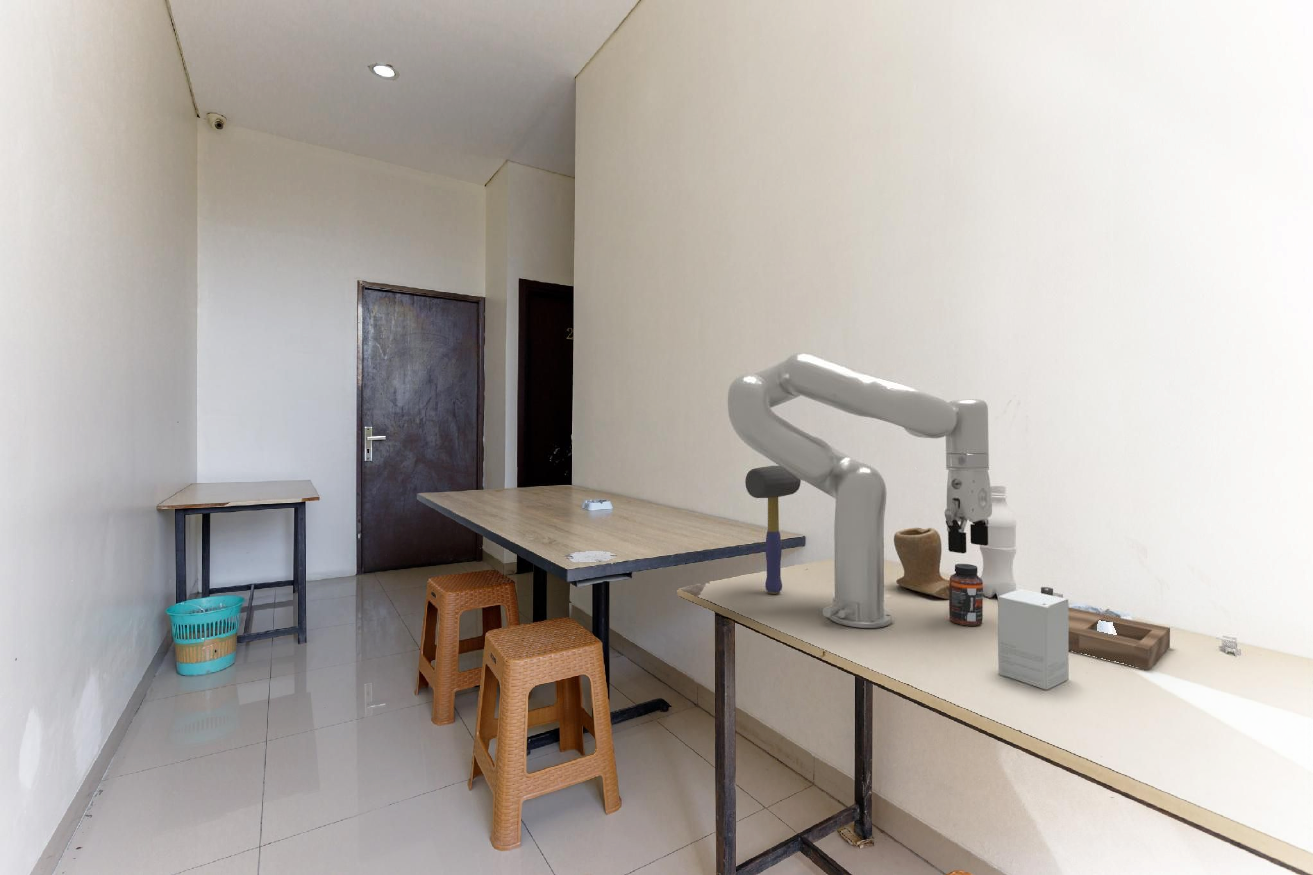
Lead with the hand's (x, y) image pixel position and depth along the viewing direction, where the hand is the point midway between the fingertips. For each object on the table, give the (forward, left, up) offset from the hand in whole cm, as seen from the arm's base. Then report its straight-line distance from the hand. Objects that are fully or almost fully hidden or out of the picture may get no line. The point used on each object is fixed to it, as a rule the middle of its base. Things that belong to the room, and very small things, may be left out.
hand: (968, 548), depth 119 cm
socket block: (+5, -18, -15) cm, 24 cm away
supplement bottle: (0, 0, -15) cm, 15 cm away
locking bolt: (+10, -11, -11) cm, 18 cm away
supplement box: (-18, -18, -15) cm, 29 cm away
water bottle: (+23, +3, -15) cm, 27 cm away
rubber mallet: (-13, +38, -15) cm, 43 cm away
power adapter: (+16, -35, -16) cm, 42 cm away
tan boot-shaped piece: (+14, +15, -15) cm, 26 cm away
